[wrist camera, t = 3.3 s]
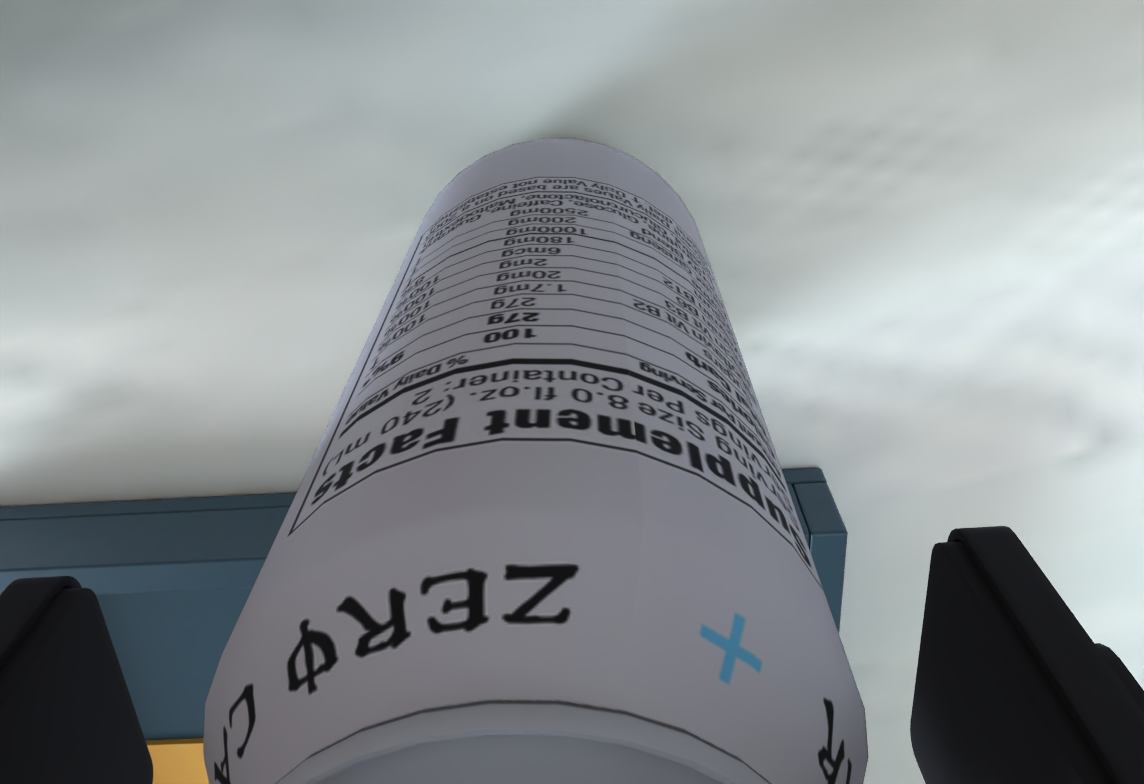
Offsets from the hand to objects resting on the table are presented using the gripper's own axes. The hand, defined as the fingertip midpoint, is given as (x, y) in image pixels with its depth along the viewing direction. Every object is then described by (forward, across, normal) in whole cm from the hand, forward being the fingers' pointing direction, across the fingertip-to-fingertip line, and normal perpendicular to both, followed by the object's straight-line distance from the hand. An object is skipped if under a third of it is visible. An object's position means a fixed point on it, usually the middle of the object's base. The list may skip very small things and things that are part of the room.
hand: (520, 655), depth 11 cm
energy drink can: (+11, 0, -1) cm, 11 cm away
